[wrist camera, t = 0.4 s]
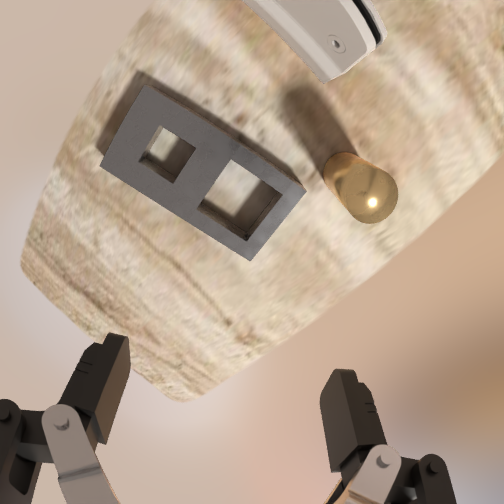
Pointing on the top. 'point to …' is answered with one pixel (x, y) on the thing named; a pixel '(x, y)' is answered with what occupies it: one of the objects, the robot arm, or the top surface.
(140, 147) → the grey flat block
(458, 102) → the top surface
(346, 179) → the cylinder
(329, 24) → the grey curved housing
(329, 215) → the top surface
